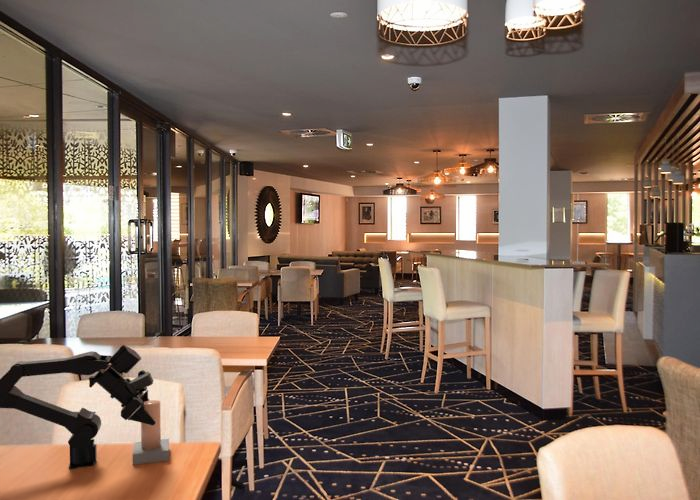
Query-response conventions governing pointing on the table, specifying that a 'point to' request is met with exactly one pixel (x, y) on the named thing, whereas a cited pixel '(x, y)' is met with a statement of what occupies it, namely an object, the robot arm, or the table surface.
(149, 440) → the terracotta column
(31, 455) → the table surface
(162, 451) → the charcoal plinth
